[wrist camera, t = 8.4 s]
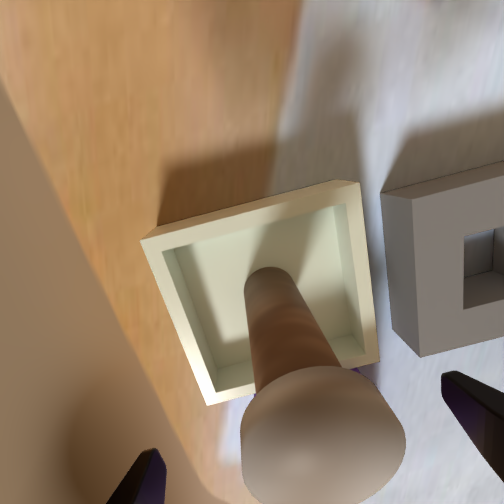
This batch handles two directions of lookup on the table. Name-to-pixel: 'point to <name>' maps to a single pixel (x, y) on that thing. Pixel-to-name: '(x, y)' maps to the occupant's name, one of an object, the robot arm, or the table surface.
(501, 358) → the table surface
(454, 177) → the holder
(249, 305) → the peg
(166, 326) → the table surface
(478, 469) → the table surface
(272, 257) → the tray
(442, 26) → the table surface
